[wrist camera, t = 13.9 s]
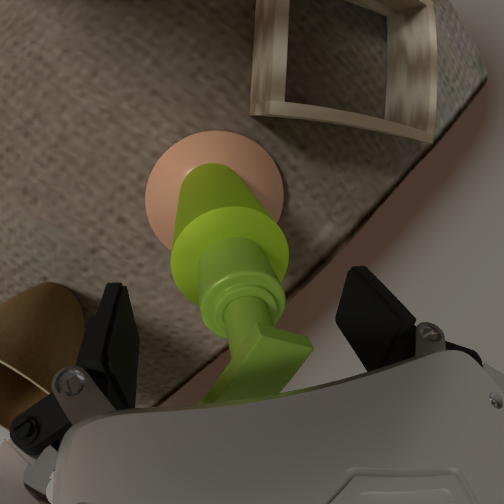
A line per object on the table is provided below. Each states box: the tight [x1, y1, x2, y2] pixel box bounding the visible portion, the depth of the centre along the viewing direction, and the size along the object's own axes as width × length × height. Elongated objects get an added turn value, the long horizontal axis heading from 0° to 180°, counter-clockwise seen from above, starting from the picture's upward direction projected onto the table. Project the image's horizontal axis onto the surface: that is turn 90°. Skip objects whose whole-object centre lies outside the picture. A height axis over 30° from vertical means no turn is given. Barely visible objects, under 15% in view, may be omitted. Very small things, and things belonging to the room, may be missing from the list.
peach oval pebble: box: [145, 130, 284, 251], centre depth 26 cm, size 13×13×1 cm
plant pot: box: [0, 282, 85, 432], centre depth 21 cm, size 15×15×16 cm
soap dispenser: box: [171, 163, 313, 404], centre depth 17 cm, size 6×7×20 cm
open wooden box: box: [249, 0, 437, 144], centre depth 19 cm, size 16×16×7 cm
